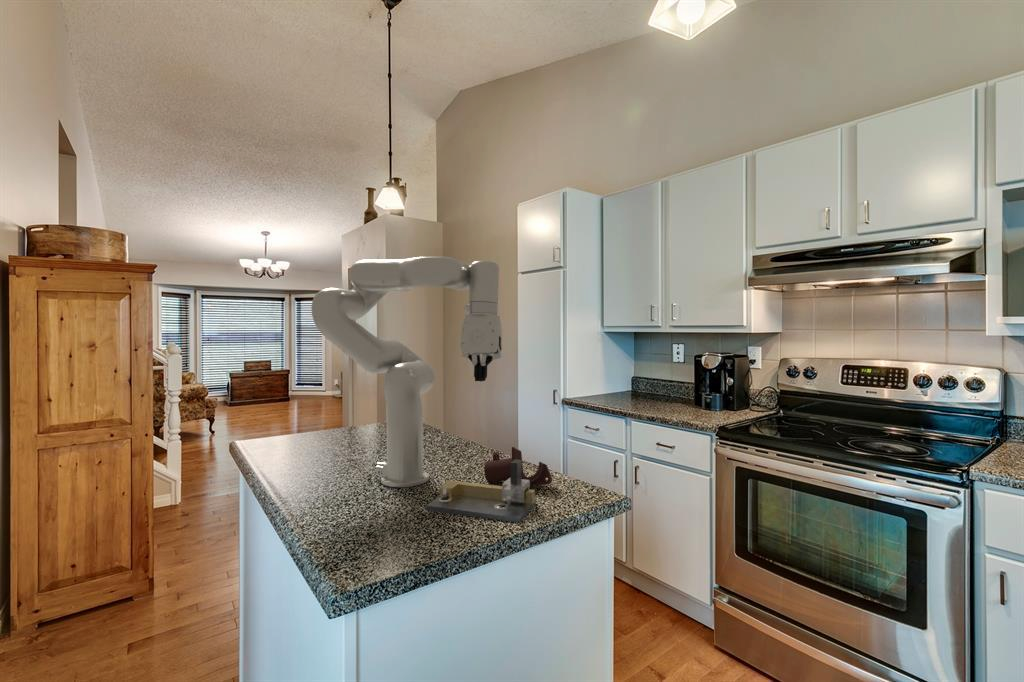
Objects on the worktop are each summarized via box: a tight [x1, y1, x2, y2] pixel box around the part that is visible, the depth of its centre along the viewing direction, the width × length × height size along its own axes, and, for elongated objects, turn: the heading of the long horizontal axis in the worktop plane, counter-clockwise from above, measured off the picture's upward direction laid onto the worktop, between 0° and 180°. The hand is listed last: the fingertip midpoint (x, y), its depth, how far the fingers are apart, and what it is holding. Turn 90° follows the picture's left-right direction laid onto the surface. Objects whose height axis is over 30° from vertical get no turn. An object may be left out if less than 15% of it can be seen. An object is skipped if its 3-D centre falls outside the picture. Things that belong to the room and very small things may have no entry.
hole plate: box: [425, 495, 537, 524], centre depth 107 cm, size 22×12×1 cm, turn 71°
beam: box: [439, 479, 536, 504], centre depth 109 cm, size 22×6×2 cm, turn 71°
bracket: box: [483, 446, 553, 487], centre depth 124 cm, size 6×17×10 cm, turn 75°
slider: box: [501, 459, 531, 506], centre depth 107 cm, size 5×8×9 cm, turn 161°
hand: (480, 380), depth 122 cm, fingers closed
